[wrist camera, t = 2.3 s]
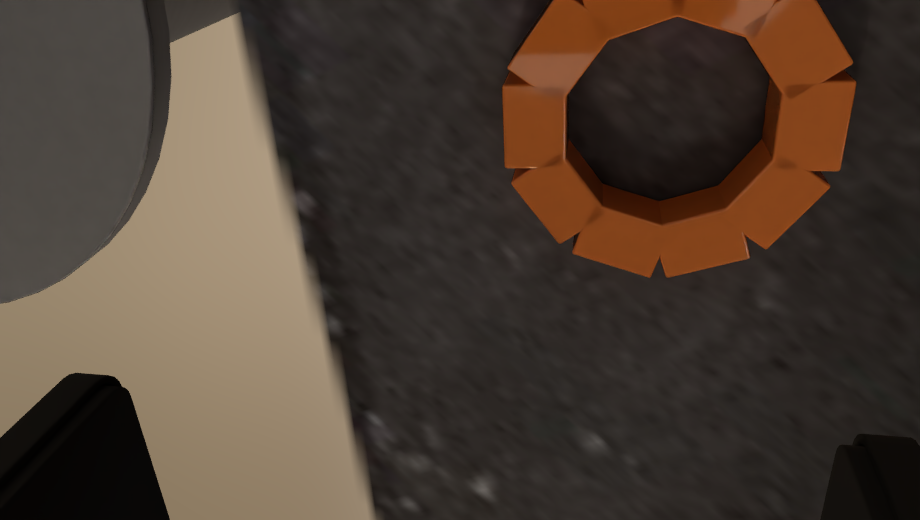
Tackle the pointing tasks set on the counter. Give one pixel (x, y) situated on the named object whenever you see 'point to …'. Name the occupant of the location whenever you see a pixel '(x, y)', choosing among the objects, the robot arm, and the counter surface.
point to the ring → (698, 213)
